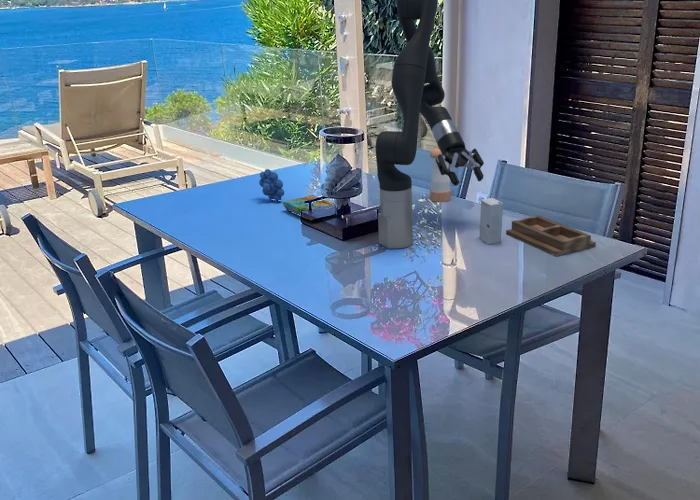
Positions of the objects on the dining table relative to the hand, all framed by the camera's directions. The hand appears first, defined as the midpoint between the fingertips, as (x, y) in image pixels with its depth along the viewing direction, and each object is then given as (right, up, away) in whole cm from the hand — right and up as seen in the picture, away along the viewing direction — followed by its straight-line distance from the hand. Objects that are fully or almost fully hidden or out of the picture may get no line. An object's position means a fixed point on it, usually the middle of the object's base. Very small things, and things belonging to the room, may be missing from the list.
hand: (469, 182), depth 205 cm
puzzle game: (-48, -9, +30) cm, 58 cm away
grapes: (-65, -3, +47) cm, 80 cm away
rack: (+22, -17, -7) cm, 29 cm away
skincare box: (+6, -18, -4) cm, 19 cm away
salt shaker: (-4, -2, +38) cm, 38 cm away
